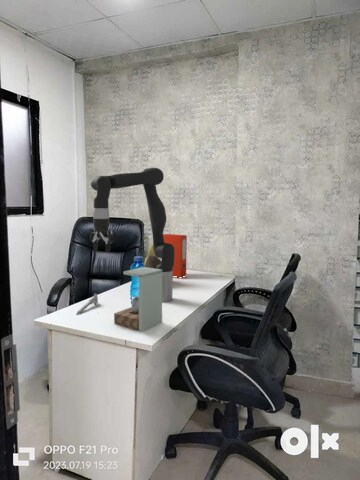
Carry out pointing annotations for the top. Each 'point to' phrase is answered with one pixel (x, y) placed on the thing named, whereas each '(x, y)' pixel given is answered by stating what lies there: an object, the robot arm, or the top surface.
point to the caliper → (91, 301)
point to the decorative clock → (151, 259)
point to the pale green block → (149, 296)
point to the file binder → (178, 252)
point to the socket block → (127, 319)
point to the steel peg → (135, 305)
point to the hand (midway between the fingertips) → (101, 250)
